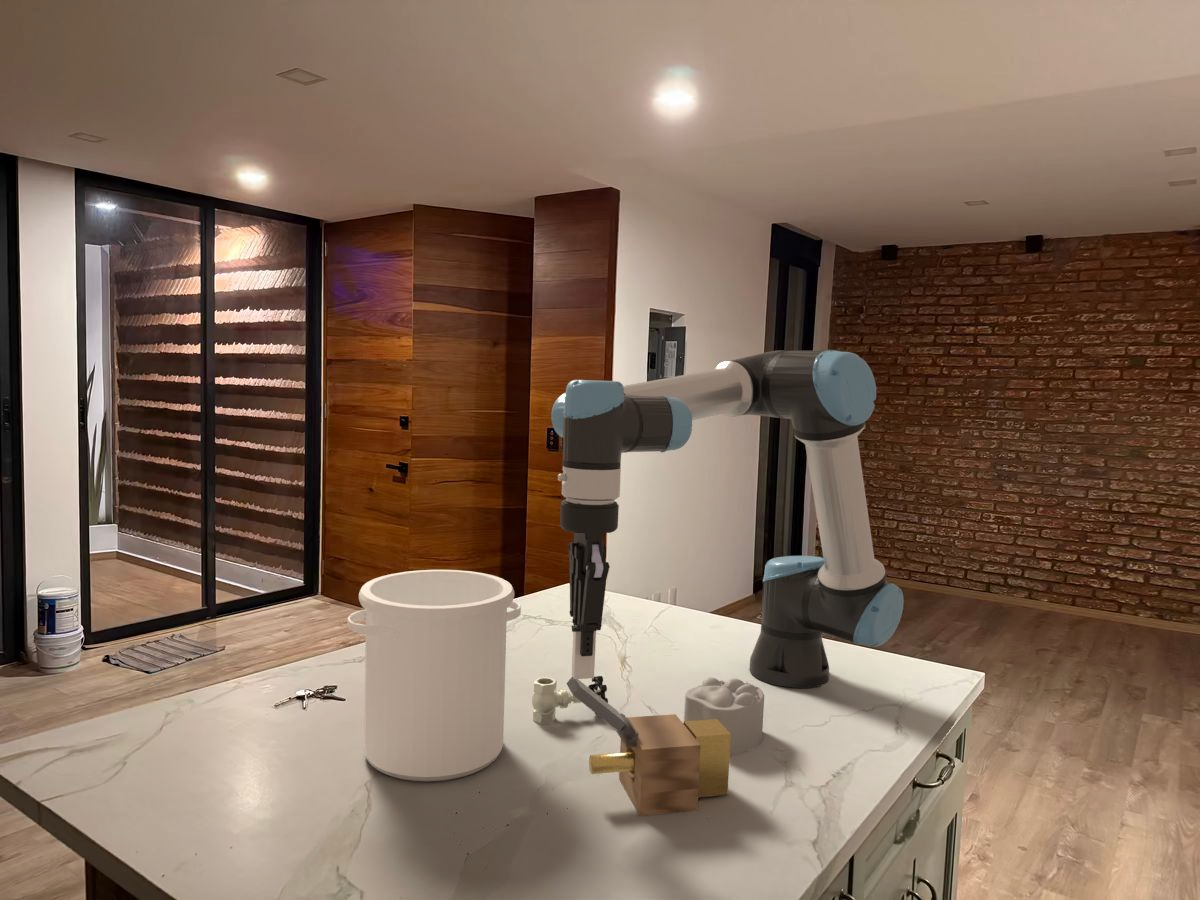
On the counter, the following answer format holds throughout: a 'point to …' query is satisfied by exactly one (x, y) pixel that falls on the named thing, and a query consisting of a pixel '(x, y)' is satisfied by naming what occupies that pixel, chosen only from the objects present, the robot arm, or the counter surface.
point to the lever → (596, 703)
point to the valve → (557, 698)
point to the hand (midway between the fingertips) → (582, 676)
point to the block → (660, 764)
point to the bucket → (434, 671)
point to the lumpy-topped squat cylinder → (729, 710)
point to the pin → (711, 757)
